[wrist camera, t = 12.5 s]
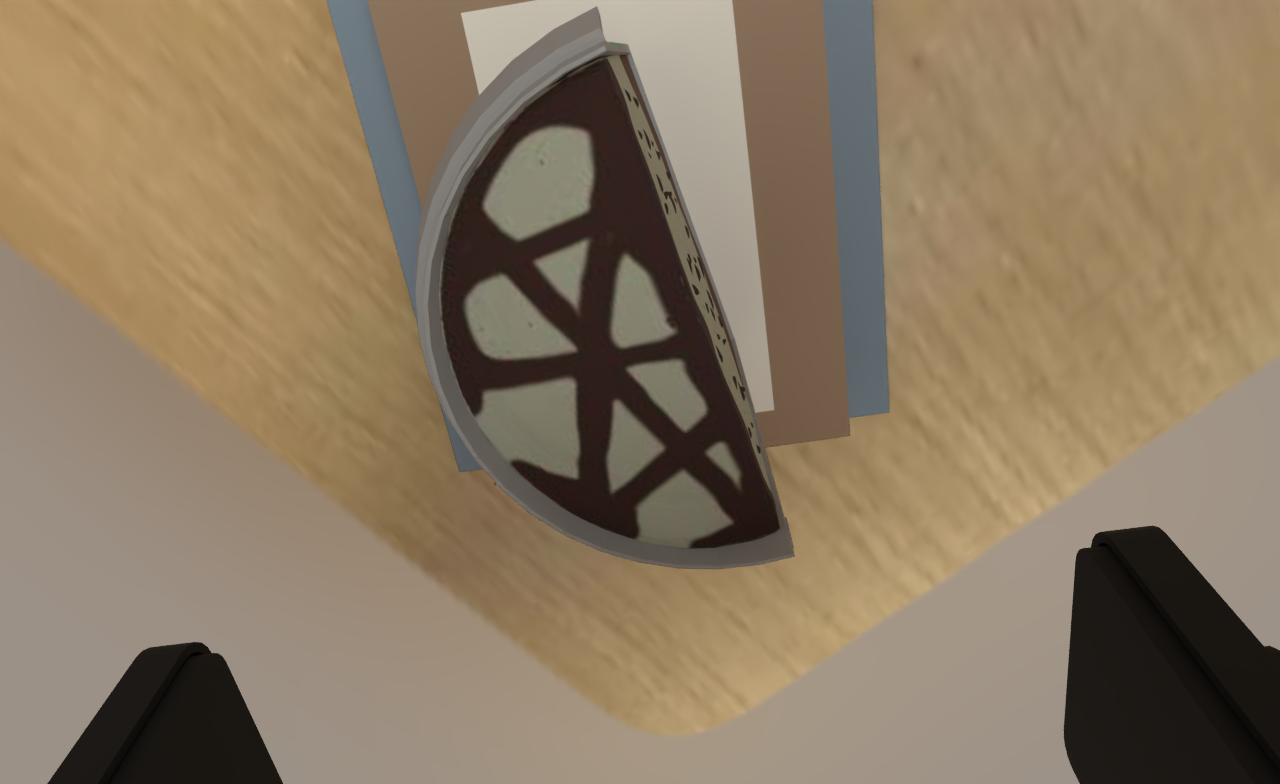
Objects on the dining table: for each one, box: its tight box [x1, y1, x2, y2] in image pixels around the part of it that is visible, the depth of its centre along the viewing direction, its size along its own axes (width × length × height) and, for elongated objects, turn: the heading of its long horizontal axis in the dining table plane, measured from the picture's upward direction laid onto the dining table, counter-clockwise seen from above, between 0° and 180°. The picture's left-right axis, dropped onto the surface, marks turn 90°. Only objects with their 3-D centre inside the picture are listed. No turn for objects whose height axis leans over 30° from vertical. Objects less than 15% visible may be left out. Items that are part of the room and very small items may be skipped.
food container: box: [415, 6, 795, 569], centre depth 23 cm, size 12×6×10 cm, turn 21°
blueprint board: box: [327, 0, 889, 485], centre depth 29 cm, size 16×18×4 cm
